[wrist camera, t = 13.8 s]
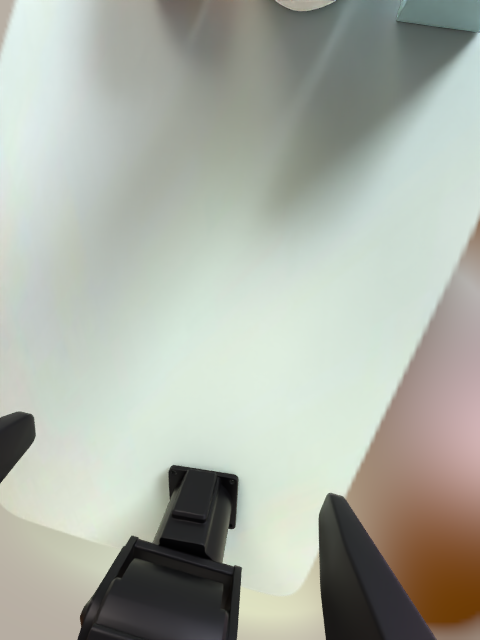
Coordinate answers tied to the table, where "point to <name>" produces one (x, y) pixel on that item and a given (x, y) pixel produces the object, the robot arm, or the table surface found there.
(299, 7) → the can
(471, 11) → the box
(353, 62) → the table surface
